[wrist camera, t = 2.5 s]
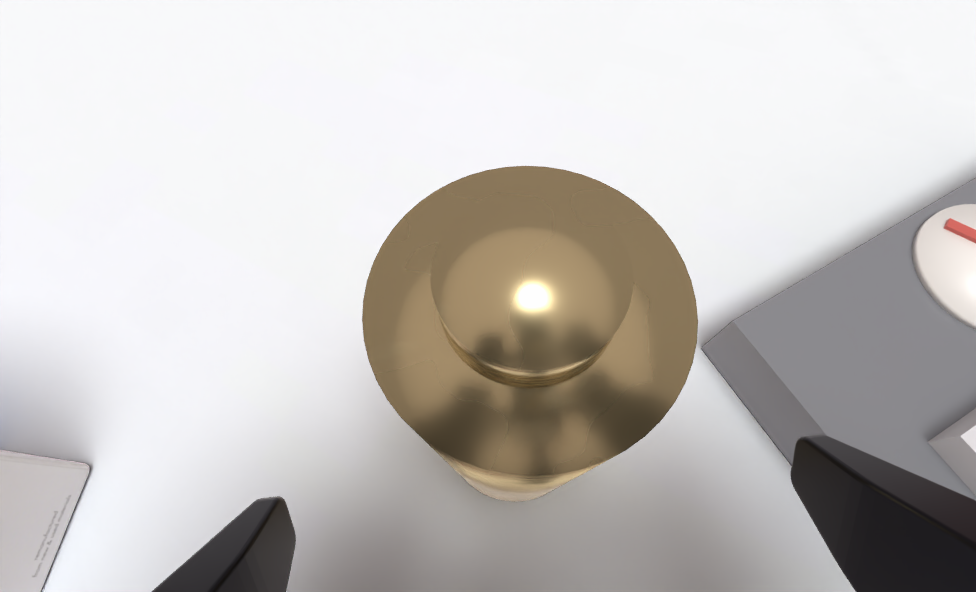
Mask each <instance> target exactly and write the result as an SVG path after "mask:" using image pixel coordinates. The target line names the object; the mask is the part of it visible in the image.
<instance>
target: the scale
mask: <svg viewBox="0 0 976 592" xmlns="http://www.w3.org/2000/svg"><path fill="white" fill-rule="evenodd" d="M701 349H702V350H703V351H704V353H705V354H706V355H707V356H708V358H709V359H710V360H711V362H712V363H713V364H714V366H715V367H716V368H717V369H718V371H719V372H720V373H721V375H722V376H723V377H724V378H725V380H726V381H727V382H728V384H729V385H730V386H731V388H732V389H733V390H734V391H735V393H736V394H737V395H738V397H739V398H740V399H741V400H742V402H743V403H744V404H745V406H746V407H747V408H748V409H749V411H750V412H751V413H752V415H753V416H754V417H755V419H756V420H757V421H758V422H759V424H760V425H761V426H762V428H763V429H764V430H765V431H766V433H767V434H768V435H769V437H770V438H771V439H772V441H773V442H774V443H775V444H776V446H777V447H778V448H779V450H780V451H781V452H782V453H783V455H784V456H785V457H786V459H787V460H788V461H789V462H790V464H791V465H792V461H793V455H794V449H795V443H796V441H797V439H798V438H799V437H802V436H808V435H817V434H823V435H827V436H829V437H831V438H834V439H836V440H838V441H841V442H843V443H845V444H848V445H850V446H852V447H854V448H857V449H859V450H861V451H864V452H866V453H868V454H871V455H873V456H875V457H877V458H880V459H882V460H884V461H887V462H889V463H891V464H894V465H896V466H898V467H900V468H903V469H905V470H907V471H910V472H912V473H914V474H917V475H919V476H921V477H924V478H926V479H928V480H930V481H933V482H935V483H937V484H940V485H942V486H944V487H947V488H949V489H951V490H953V491H956V492H958V493H960V494H963V495H965V496H967V497H970V498H972V499H974V500H976V178H974V179H973V180H971V181H969V182H968V183H966V184H964V185H963V186H961V187H959V188H957V189H956V190H954V191H952V192H951V193H949V194H947V195H946V196H944V197H942V198H940V199H939V200H937V201H935V202H934V203H932V204H930V205H929V206H927V207H925V208H923V209H922V210H920V211H918V212H917V213H915V214H913V215H912V216H910V217H908V218H906V219H905V220H903V221H901V222H900V223H898V224H896V225H895V226H893V227H891V228H889V229H888V230H886V231H884V232H883V233H881V234H879V235H878V236H876V237H874V238H873V239H871V240H869V241H867V242H866V243H864V244H862V245H861V246H859V247H857V248H856V249H854V250H852V251H850V252H849V253H847V254H845V255H844V256H842V257H840V258H839V259H837V260H835V261H833V262H832V263H830V264H828V265H827V266H825V267H823V268H822V269H820V270H818V271H816V272H815V273H813V274H811V275H810V276H808V277H806V278H805V279H803V280H801V281H799V282H798V283H796V284H794V285H793V286H791V287H789V288H788V289H786V290H784V291H783V292H781V293H779V294H777V295H776V296H774V297H772V298H771V299H769V300H767V301H766V302H764V303H762V304H760V305H759V306H757V307H755V308H754V309H752V310H750V311H749V312H747V313H745V314H743V315H742V316H740V317H738V318H737V319H735V320H733V321H732V322H731V323H730V324H728V325H727V326H726V327H725V328H724V329H723V330H721V331H720V332H719V333H718V334H717V335H716V336H714V337H713V338H712V339H711V340H710V341H709V342H708V343H706V344H705V345H704V346H703V347H702V348H701Z"/></svg>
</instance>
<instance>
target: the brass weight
mask: <svg viewBox="0 0 976 592" xmlns="http://www.w3.org/2000/svg"><path fill="white" fill-rule="evenodd" d="M362 321H363V333H364V342H365V346H366V350H367V355H368V359H369V362H370V365H371V367H372V370H373V372H374V375H375V378H376V380H377V382H378V384H379V386H380V387H381V389H382V391H383V393H384V394H385V396H386V398H387V400H388V401H389V402H390V404H391V405H392V406H393V408H394V409H395V410H396V411H397V413H398V414H399V415H400V417H401V418H402V419H403V420H404V421H405V422H406V423H407V424H408V425H409V426H410V427H411V428H412V429H413V430H414V431H415V432H416V433H417V434H418V435H419V436H421V437H422V438H423V439H424V440H425V441H426V442H427V443H428V444H429V445H430V446H431V447H432V448H433V449H434V450H435V451H436V452H437V453H438V454H439V455H440V456H441V457H442V458H443V459H444V460H445V461H446V462H447V463H448V464H449V465H450V466H451V467H452V468H453V469H454V470H455V471H456V472H457V473H458V474H459V475H461V476H462V477H463V478H464V479H465V480H466V481H467V482H468V483H469V484H470V485H471V486H472V487H474V488H475V489H476V490H478V491H480V492H481V493H483V494H485V495H487V496H490V497H492V498H495V499H499V500H503V501H513V502H516V501H527V500H532V499H535V498H538V497H541V496H543V495H545V494H547V493H549V492H551V491H553V490H554V489H556V488H558V487H560V486H562V485H564V484H565V483H567V482H569V481H571V480H573V479H574V478H576V477H578V476H580V475H582V474H583V473H585V472H587V471H589V470H591V469H593V468H594V467H596V466H598V465H600V464H602V463H603V462H605V461H607V460H609V459H611V458H613V457H614V456H616V455H618V454H620V453H622V452H623V451H625V450H627V449H628V448H629V447H631V446H632V445H634V444H635V443H636V442H638V441H639V440H640V439H642V438H643V437H645V436H646V435H647V434H648V433H649V432H650V431H651V430H652V429H653V428H654V427H655V426H656V425H657V424H658V423H659V422H660V421H661V420H662V419H663V417H664V416H665V415H666V413H667V412H668V411H669V409H670V408H671V407H672V405H673V404H674V403H675V401H676V399H677V397H678V395H679V394H680V392H681V390H682V388H683V386H684V384H685V382H686V380H687V377H688V374H689V371H690V368H691V366H692V363H693V358H694V353H695V348H696V343H697V327H698V318H697V307H696V299H695V295H694V291H693V286H692V282H691V279H690V277H689V274H688V271H687V269H686V266H685V264H684V261H683V260H682V258H681V256H680V254H679V252H678V250H677V249H676V247H675V245H674V244H673V242H672V241H671V239H670V238H669V237H668V235H667V234H666V233H665V231H664V230H663V228H662V227H661V226H660V225H659V224H658V223H657V222H656V221H655V220H654V219H653V218H652V217H651V216H650V215H649V214H648V213H647V212H646V211H645V210H644V209H642V208H641V207H640V206H639V205H638V204H637V203H635V202H634V201H633V200H631V199H630V198H628V197H627V196H625V195H624V194H622V193H621V192H619V191H618V190H616V189H614V188H612V187H610V186H608V185H606V184H604V183H602V182H600V181H597V180H595V179H592V178H590V177H587V176H584V175H581V174H578V173H574V172H570V171H566V170H562V169H555V168H549V167H537V166H516V167H504V168H498V169H492V170H487V171H483V172H479V173H476V174H472V175H469V176H466V177H464V178H461V179H459V180H456V181H454V182H452V183H450V184H448V185H446V186H444V187H442V188H440V189H439V190H437V191H435V192H433V193H432V194H431V195H429V196H428V197H426V198H425V199H423V200H422V201H421V202H419V203H418V204H417V205H416V206H415V207H414V208H412V209H411V210H410V211H409V212H408V213H407V214H406V215H405V216H404V217H403V218H402V219H401V220H400V222H399V223H398V224H397V225H396V226H395V227H394V228H393V230H392V231H391V233H390V234H389V236H388V237H387V239H386V240H385V241H384V243H383V244H382V246H381V248H380V250H379V252H378V254H377V256H376V258H375V260H374V262H373V265H372V268H371V271H370V274H369V277H368V280H367V284H366V289H365V295H364V300H363V317H362Z"/></svg>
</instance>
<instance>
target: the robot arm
mask: <svg viewBox="0 0 976 592" xmlns="http://www.w3.org/2000/svg"><path fill="white" fill-rule="evenodd" d="M791 480H792V484H793V487H794V489H795V491H796V492H797V494H798V496H799V498H800V499H801V501H802V503H803V504H804V506H805V508H806V510H807V511H808V513H809V515H810V517H811V518H812V520H813V522H814V524H815V525H816V527H817V529H818V531H819V532H820V534H821V536H822V538H823V539H824V541H825V543H826V545H827V546H828V548H829V550H830V552H831V553H832V555H833V557H834V558H835V560H836V562H837V563H838V565H839V567H840V568H841V570H842V571H843V573H844V574H845V576H846V577H847V579H848V580H849V582H850V583H851V585H852V586H853V588H854V589H855V591H856V592H976V500H974V499H972V498H970V497H967V496H965V495H963V494H960V493H958V492H956V491H953V490H951V489H949V488H947V487H944V486H942V485H940V484H937V483H935V482H933V481H930V480H928V479H926V478H924V477H921V476H919V475H917V474H914V473H912V472H910V471H907V470H905V469H903V468H900V467H898V466H896V465H894V464H891V463H889V462H887V461H884V460H882V459H880V458H877V457H875V456H873V455H871V454H868V453H866V452H864V451H861V450H859V449H857V448H854V447H852V446H850V445H848V444H845V443H843V442H841V441H838V440H836V439H834V438H831V437H829V436H827V435H823V434H817V435H808V436H802V437H799V438H798V439H797V441H796V443H795V449H794V455H793V461H792V468H791ZM295 541H296V537H295V530H294V527H293V524H292V521H291V517H290V514H289V511H288V508H287V505H286V502H285V500H284V499H283V498H282V497H279V496H277V497H269V498H261V499H258V500H256V501H255V502H253V503H252V504H251V505H250V506H249V507H248V508H246V509H245V510H244V511H243V512H242V513H241V514H240V515H238V516H237V517H236V518H235V519H234V520H233V521H232V522H230V523H229V524H228V525H227V526H226V527H225V528H224V529H223V530H221V531H220V532H219V533H218V534H217V535H216V536H215V537H213V538H212V539H211V540H210V541H209V542H208V543H207V544H205V545H204V546H203V547H202V548H201V549H200V550H199V551H197V552H196V553H195V554H194V555H193V556H192V557H191V558H189V559H188V560H187V561H186V562H185V563H184V564H183V565H181V566H180V567H179V568H178V569H177V570H176V571H175V572H173V573H172V574H171V575H170V576H169V577H168V578H167V579H166V580H164V581H163V582H162V583H161V584H160V585H159V586H158V587H156V588H155V589H154V590H153V591H152V592H286V589H287V584H288V579H289V574H290V569H291V564H292V559H293V554H294V549H295Z"/></svg>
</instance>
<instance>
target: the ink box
mask: <svg viewBox="0 0 976 592" xmlns="http://www.w3.org/2000/svg"><path fill="white" fill-rule="evenodd" d="M89 469H90V467H89V466H88V465H87V464H86V463H81V462H75V461H68V460H62V459H55V458H49V457H43V456H36V455H30V454H24V453H18V452H12V451H5V450H0V592H41V590H42V587H43V585H44V582H45V580H46V577H47V575H48V572H49V570H50V568H51V565H52V563H53V560H54V558H55V555H56V553H57V550H58V548H59V545H60V543H61V540H62V538H63V535H64V533H65V530H66V528H67V526H68V523H69V521H70V518H71V516H72V513H73V511H74V508H75V506H76V503H77V501H78V499H79V496H80V494H81V491H82V489H83V486H84V484H85V482H86V479H87V477H88V474H89Z"/></svg>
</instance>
